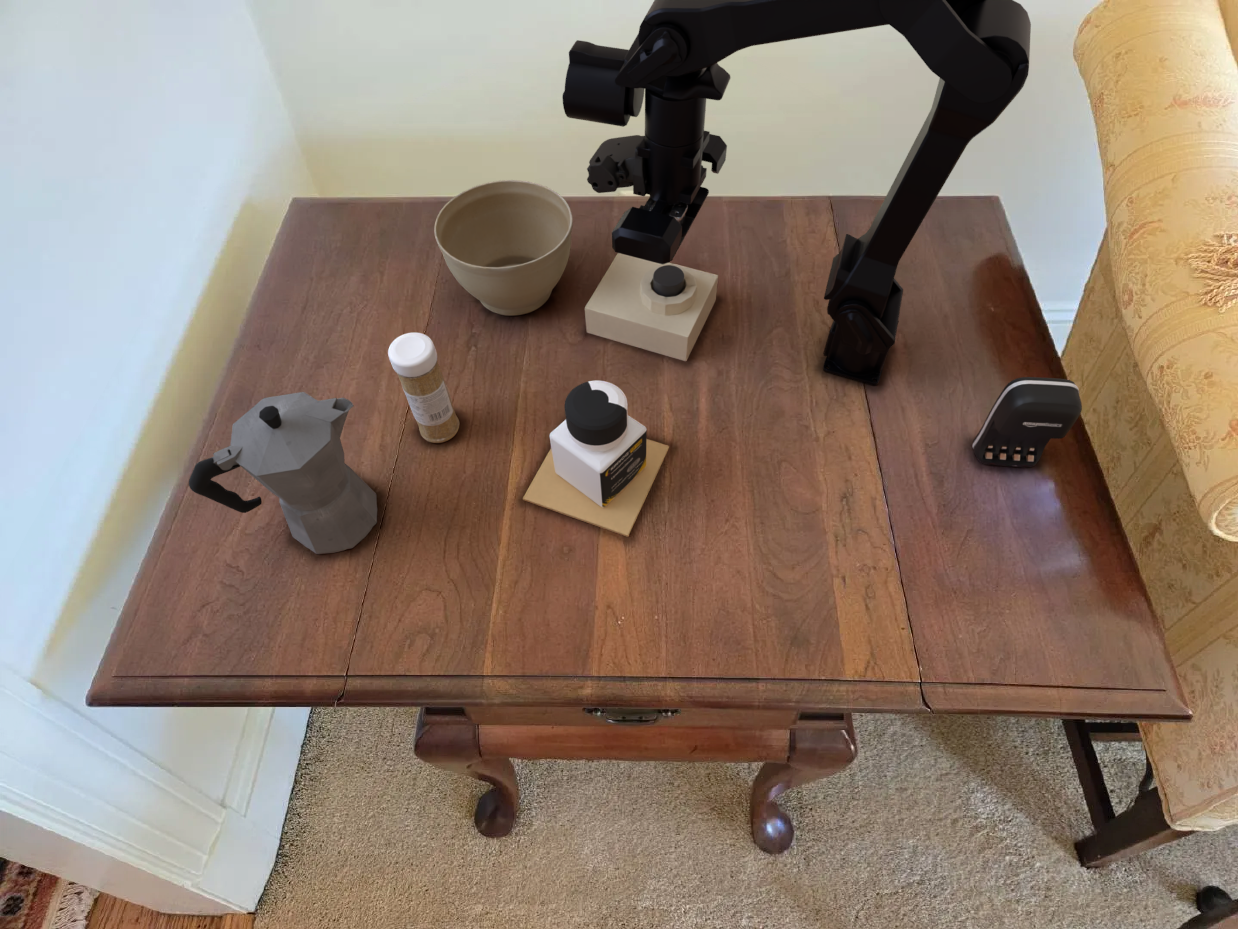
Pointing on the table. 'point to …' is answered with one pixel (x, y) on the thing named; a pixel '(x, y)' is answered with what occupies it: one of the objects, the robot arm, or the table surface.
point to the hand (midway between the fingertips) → (669, 256)
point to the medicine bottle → (598, 442)
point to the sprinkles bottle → (424, 386)
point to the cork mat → (575, 504)
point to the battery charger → (1027, 420)
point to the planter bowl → (506, 243)
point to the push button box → (650, 307)
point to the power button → (668, 281)
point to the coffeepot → (296, 470)
